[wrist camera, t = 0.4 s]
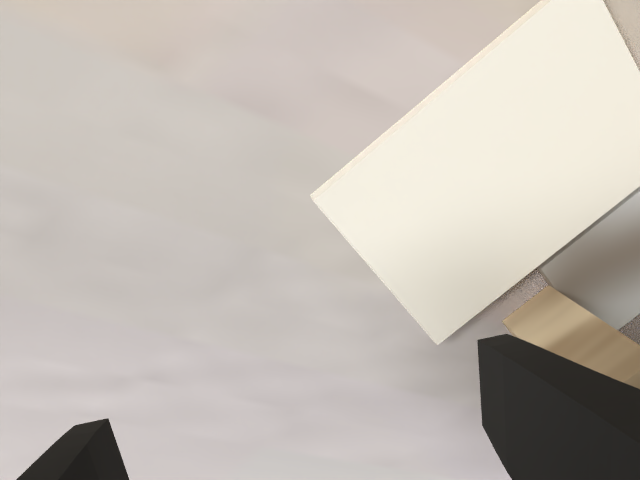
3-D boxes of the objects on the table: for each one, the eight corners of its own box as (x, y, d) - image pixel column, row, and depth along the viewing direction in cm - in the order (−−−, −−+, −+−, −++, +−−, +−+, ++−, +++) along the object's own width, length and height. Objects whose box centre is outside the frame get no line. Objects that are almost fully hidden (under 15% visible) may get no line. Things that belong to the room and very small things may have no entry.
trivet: (661, 150, 20) (681, 153, 19) (428, 333, 21) (437, 345, 20) (569, -24, 17) (587, -30, 16) (309, 194, 18) (312, 200, 18)
